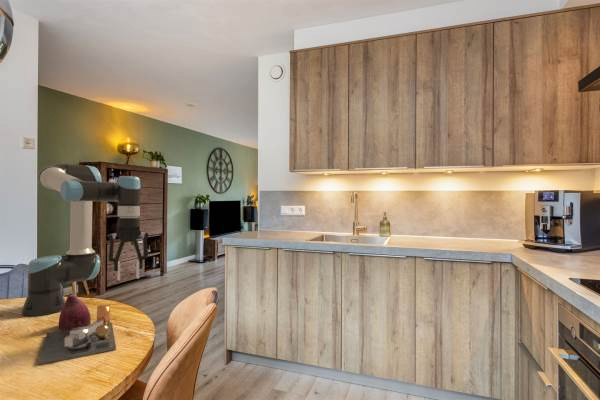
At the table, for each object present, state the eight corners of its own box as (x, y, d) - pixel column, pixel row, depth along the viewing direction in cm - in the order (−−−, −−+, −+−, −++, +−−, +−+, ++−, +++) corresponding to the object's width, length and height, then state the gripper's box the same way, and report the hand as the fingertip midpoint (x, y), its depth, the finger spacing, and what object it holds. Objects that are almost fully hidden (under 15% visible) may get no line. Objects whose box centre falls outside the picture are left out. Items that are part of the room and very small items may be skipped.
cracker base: (47, 336, 120) (47, 315, 120) (111, 325, 131) (111, 306, 131) (38, 365, 99) (38, 339, 99) (115, 349, 109) (116, 326, 109)
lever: (77, 348, 104) (77, 326, 104) (59, 348, 104) (60, 326, 104) (113, 323, 125) (113, 304, 125) (99, 323, 125) (99, 304, 125)
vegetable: (75, 339, 125) (71, 304, 121) (52, 333, 127) (47, 298, 123) (97, 323, 135) (94, 289, 131) (76, 317, 137) (72, 284, 133)
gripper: (100, 218, 120) (99, 283, 119) (157, 217, 129) (156, 277, 129) (99, 217, 126) (99, 279, 126) (154, 216, 136) (153, 274, 136)
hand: (128, 278), depth 128 cm, fingers open, 6 cm apart
